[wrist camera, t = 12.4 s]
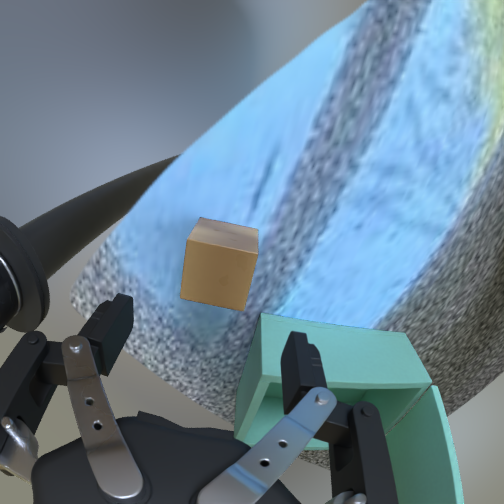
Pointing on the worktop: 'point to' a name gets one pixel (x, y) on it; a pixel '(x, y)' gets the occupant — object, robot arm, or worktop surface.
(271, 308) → the worktop surface
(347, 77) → the worktop surface
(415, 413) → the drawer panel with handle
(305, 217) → the worktop surface
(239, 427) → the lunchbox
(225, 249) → the block
